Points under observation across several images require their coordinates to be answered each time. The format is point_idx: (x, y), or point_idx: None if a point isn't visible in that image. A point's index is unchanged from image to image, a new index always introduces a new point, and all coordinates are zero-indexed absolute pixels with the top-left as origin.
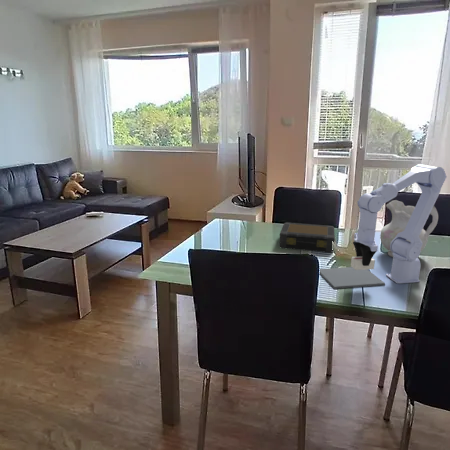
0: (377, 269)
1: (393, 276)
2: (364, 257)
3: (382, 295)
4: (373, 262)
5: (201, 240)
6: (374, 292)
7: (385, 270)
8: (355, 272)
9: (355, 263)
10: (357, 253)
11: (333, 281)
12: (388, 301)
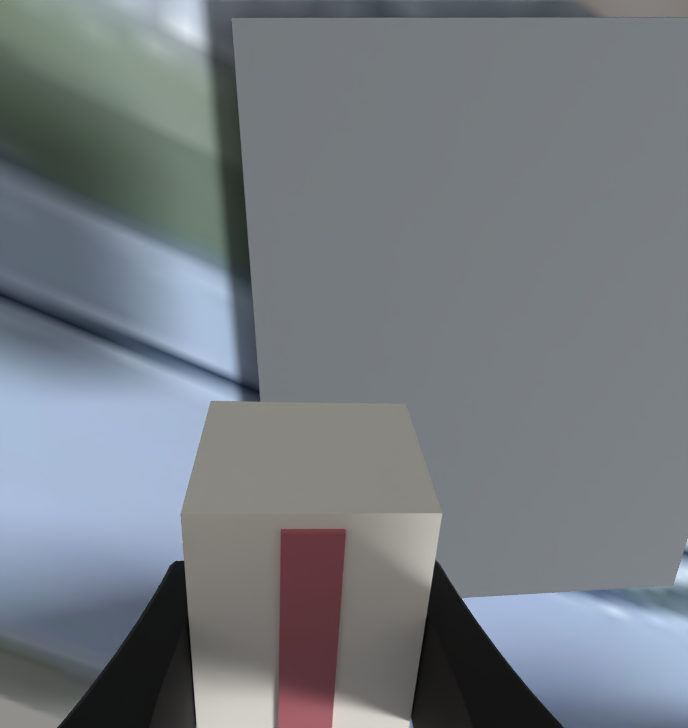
0: (591, 658)
1: None
2: (66, 726)
3: (57, 492)
4: None
5: None
6: (123, 451)
7: (551, 700)
8: (567, 462)
9: (214, 467)
10: (448, 674)
11: (399, 86)
12: None
